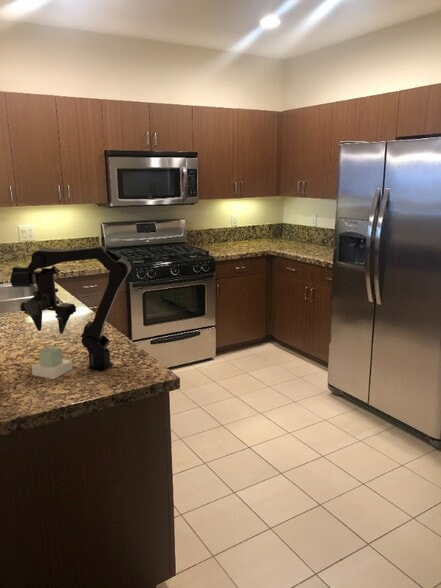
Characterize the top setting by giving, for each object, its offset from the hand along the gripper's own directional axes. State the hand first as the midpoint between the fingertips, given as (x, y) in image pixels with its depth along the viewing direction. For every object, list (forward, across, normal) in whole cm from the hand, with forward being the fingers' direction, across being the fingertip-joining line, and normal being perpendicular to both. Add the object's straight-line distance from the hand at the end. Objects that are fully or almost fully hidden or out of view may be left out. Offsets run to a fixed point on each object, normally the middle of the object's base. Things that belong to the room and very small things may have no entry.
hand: (50, 331), depth 160 cm
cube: (+10, +2, -3) cm, 11 cm away
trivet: (+13, +2, -3) cm, 14 cm away
